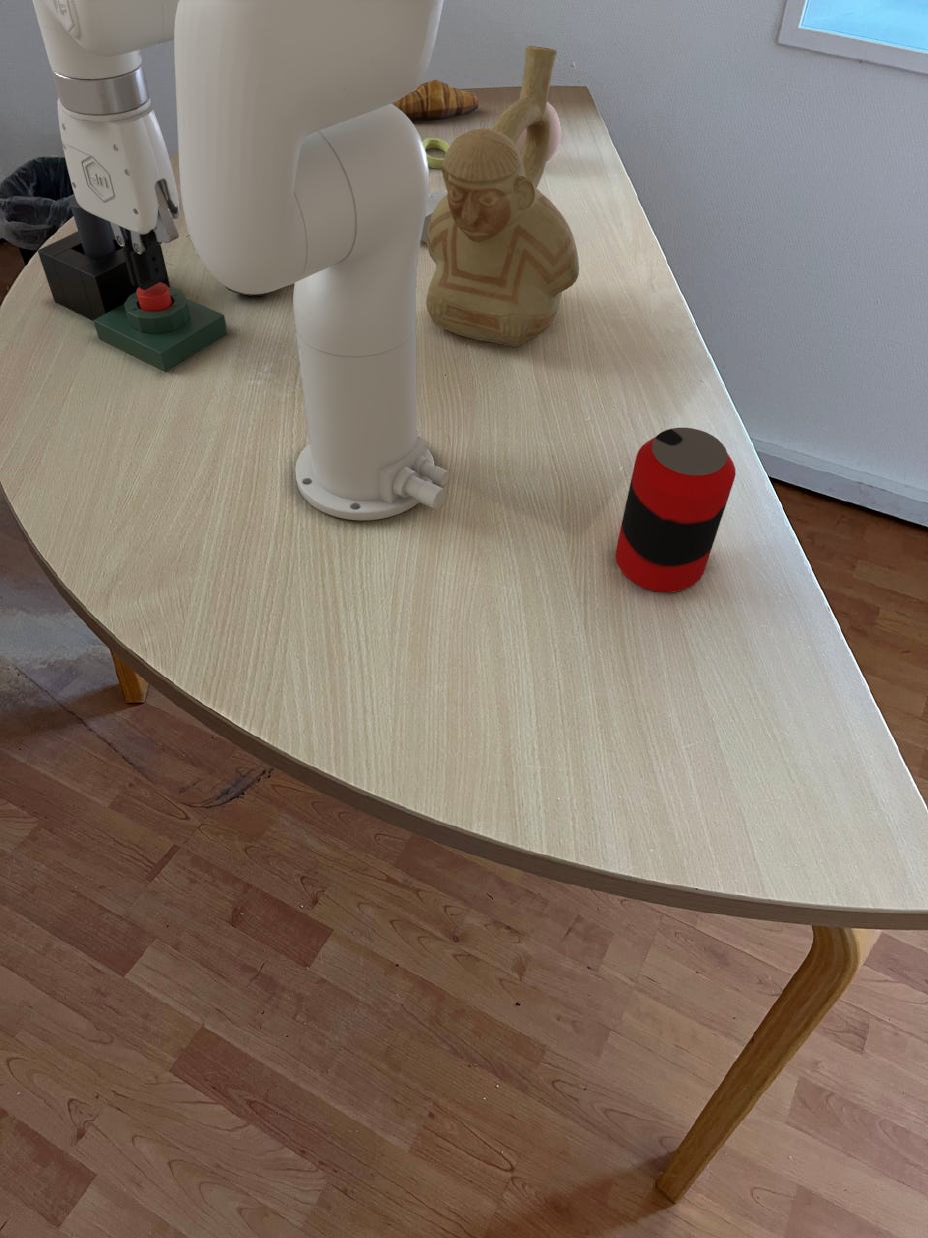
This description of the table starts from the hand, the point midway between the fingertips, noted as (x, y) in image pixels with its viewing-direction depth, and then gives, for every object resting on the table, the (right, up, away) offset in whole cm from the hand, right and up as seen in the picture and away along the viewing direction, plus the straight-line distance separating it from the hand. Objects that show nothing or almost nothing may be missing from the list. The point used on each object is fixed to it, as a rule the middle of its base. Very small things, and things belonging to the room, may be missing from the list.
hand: (149, 281), depth 94 cm
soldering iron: (-7, +1, +9) cm, 12 cm away
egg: (+42, +29, +35) cm, 62 cm away
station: (0, -4, +4) cm, 6 cm away
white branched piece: (+32, +14, +22) cm, 42 cm away
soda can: (+49, -30, -16) cm, 59 cm away
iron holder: (-7, +2, +9) cm, 12 cm away
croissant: (+28, +41, +45) cm, 67 cm away
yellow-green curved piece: (+25, +30, +35) cm, 53 cm away
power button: (0, -2, +2) cm, 3 cm away
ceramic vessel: (+36, -1, +9) cm, 37 cm away
